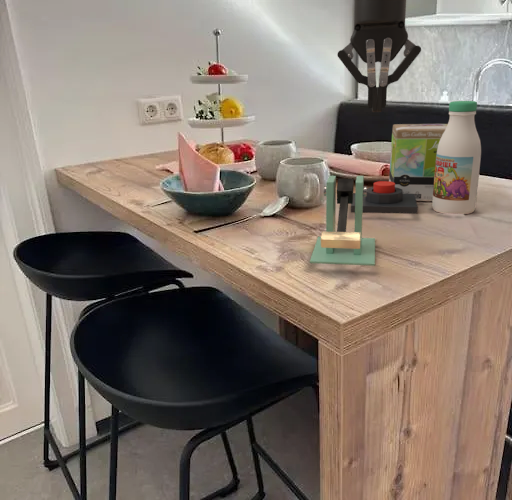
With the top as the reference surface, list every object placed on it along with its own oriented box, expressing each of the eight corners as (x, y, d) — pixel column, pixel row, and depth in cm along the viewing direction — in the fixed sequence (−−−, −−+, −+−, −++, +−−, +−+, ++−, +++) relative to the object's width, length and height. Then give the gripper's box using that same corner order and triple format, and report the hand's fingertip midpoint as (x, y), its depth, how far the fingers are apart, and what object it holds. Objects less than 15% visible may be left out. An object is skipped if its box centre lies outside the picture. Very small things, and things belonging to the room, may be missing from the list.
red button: (394, 190, 98) (394, 181, 97) (395, 194, 94) (395, 185, 93) (373, 189, 99) (373, 181, 98) (373, 194, 95) (373, 185, 94)
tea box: (391, 203, 102) (395, 129, 97) (388, 191, 111) (391, 123, 106) (469, 203, 100) (477, 127, 95) (459, 191, 109) (466, 121, 104)
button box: (413, 204, 101) (414, 184, 99) (417, 218, 92) (418, 197, 90) (352, 203, 103) (353, 184, 102) (350, 216, 94) (351, 196, 93)
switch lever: (359, 251, 65) (360, 238, 63) (321, 250, 66) (320, 236, 64) (363, 191, 73) (363, 178, 71) (328, 191, 74) (328, 178, 72)
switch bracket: (374, 271, 69) (378, 188, 65) (309, 268, 71) (309, 187, 67) (374, 245, 79) (377, 171, 75) (317, 243, 81) (317, 171, 77)
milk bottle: (447, 202, 101) (456, 99, 94) (483, 210, 95) (496, 100, 88) (423, 210, 96) (431, 102, 90) (459, 218, 90) (470, 103, 84)
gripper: (424, -11, 76) (417, 108, 82) (336, -4, 78) (335, 110, 84) (430, -18, 69) (422, 112, 75) (333, -10, 72) (333, 115, 77)
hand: (376, 111), depth 80 cm, fingers closed
